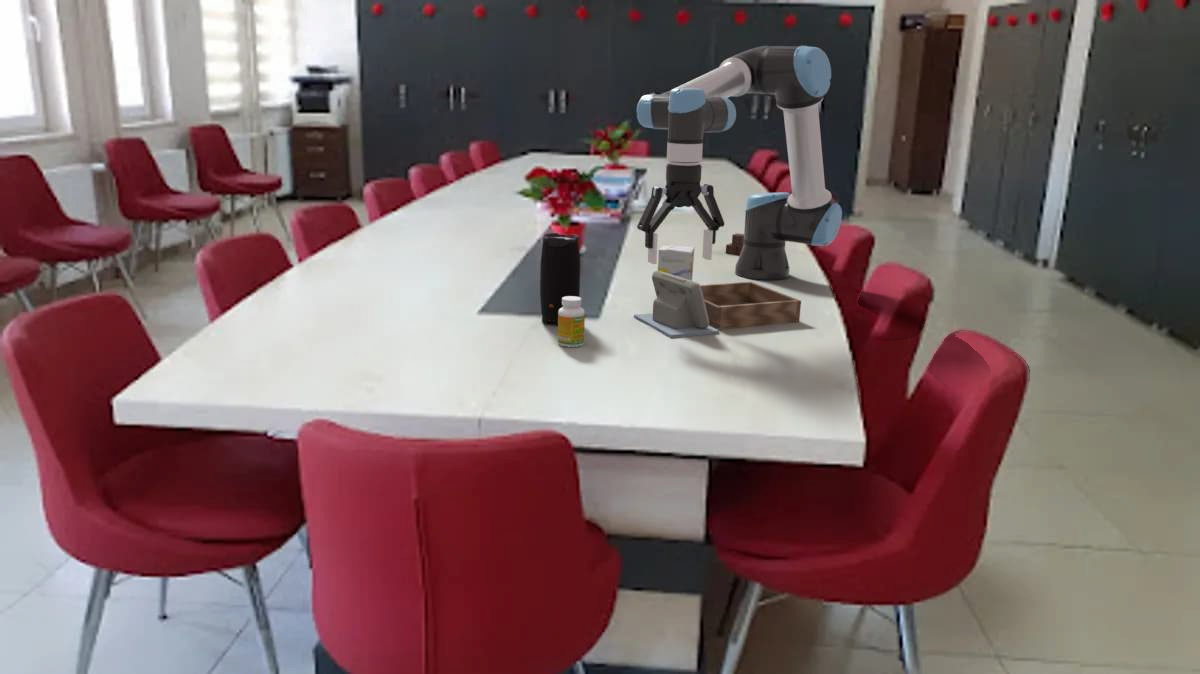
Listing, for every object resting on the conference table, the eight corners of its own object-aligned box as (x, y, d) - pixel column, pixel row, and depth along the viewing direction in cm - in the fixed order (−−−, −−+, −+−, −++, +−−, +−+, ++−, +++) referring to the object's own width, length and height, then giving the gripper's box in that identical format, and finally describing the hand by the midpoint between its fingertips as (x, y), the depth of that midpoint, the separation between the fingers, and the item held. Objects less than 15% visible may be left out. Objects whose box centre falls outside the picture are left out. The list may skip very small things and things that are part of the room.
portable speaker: (558, 329, 202) (560, 240, 197) (531, 320, 208) (531, 234, 203) (587, 323, 208) (589, 236, 202) (560, 315, 214) (561, 230, 209)
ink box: (688, 297, 235) (691, 251, 232) (655, 295, 237) (657, 249, 233) (692, 290, 243) (695, 245, 240) (660, 288, 245) (662, 243, 242)
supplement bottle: (574, 349, 188) (575, 302, 185) (552, 344, 191) (553, 298, 188) (588, 343, 192) (590, 297, 190) (567, 339, 195) (568, 293, 192)
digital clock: (712, 330, 203) (715, 282, 200) (675, 333, 200) (677, 284, 197) (678, 312, 217) (681, 267, 214) (643, 315, 214) (645, 269, 211)
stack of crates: (770, 254, 299) (772, 233, 297) (751, 261, 287) (753, 239, 285) (727, 249, 306) (729, 228, 305) (707, 255, 294) (708, 234, 292)
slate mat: (680, 313, 219) (680, 311, 219) (719, 333, 203) (719, 330, 203) (633, 317, 214) (634, 314, 214) (670, 337, 198) (670, 335, 198)
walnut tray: (750, 301, 233) (751, 281, 232) (799, 321, 215) (801, 300, 213) (672, 307, 225) (673, 287, 223) (716, 329, 206) (717, 307, 205)
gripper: (725, 159, 207) (720, 253, 213) (623, 162, 197) (621, 261, 203) (743, 163, 200) (737, 260, 206) (639, 166, 191) (636, 268, 197)
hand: (679, 260), depth 205 cm, fingers open, 13 cm apart
